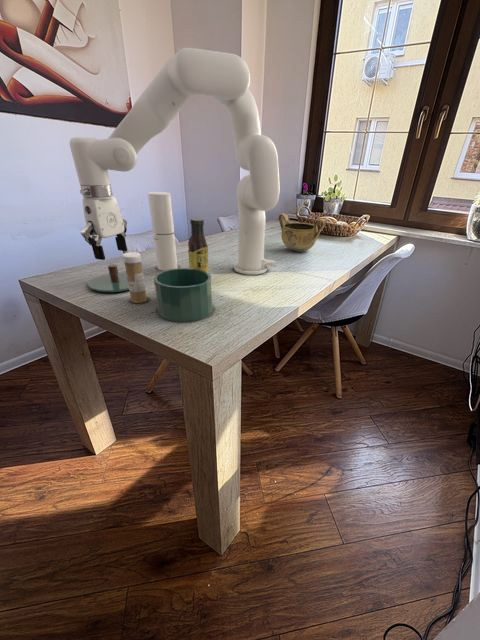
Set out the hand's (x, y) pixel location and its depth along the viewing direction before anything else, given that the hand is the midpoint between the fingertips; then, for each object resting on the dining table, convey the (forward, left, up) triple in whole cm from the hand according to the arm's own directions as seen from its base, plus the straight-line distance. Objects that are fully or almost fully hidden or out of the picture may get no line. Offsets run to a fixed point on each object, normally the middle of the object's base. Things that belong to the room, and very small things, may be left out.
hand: (112, 254), depth 94 cm
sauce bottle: (-25, -4, -10) cm, 28 cm away
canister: (-23, +18, -10) cm, 31 cm away
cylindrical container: (-12, -18, -10) cm, 24 cm away
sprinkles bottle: (-9, +12, -10) cm, 18 cm away
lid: (+1, 0, -9) cm, 9 cm away
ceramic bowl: (-67, -48, -10) cm, 83 cm away
